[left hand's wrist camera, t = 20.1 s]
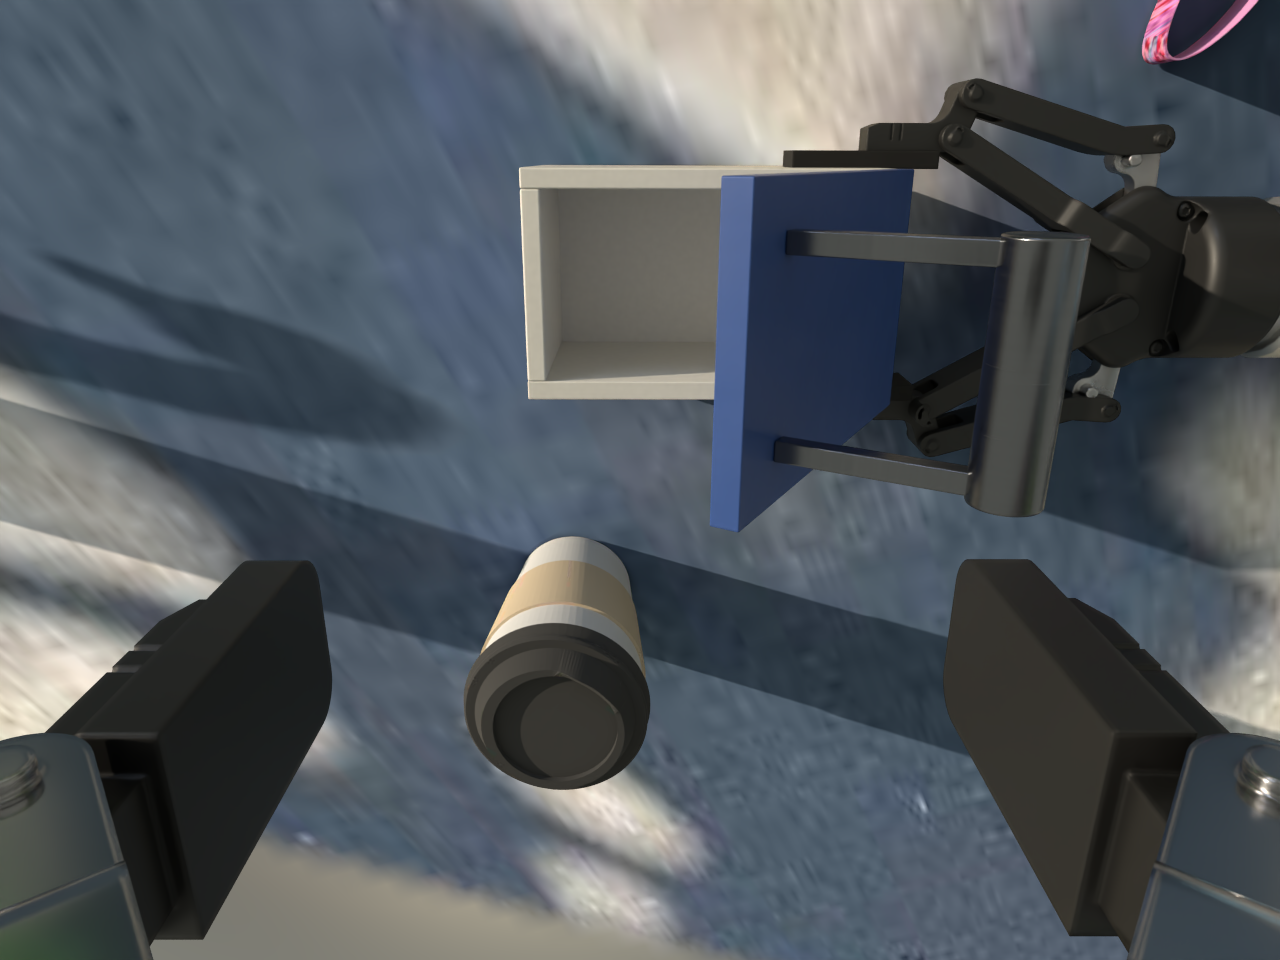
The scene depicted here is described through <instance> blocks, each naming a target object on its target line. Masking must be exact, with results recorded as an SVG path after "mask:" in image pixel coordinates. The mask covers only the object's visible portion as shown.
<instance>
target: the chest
mask: <svg viewBox="0 0 1280 960" xmlns="http://www.w3.org/2000/svg"><path fill="white" fill-rule="evenodd" d="M877 169H891V168H790V167H783V166H649V165H541V166H531V167H521V168H519V179H520V188H521V190H520V202H521V226H522V250H523V274H524V298H525V322H526V346H527V370H528V380H529V381H528V396H529V399H626V400H714V387H715V357H716V326H717V296H718V266H719V236H720V206H721V178H722V176H724V175H749V174H775V173H800V172H826V171H852V170H877Z"/></svg>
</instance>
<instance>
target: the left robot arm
mask: <svg viewBox="0 0 1280 960" xmlns="http://www.w3.org/2000/svg"><path fill="white" fill-rule="evenodd" d="M943 686H944V696H945V702H946V707H947V710H948V714H949V717H950V719H951V721H952V723H953V725H954V727H955V729H956V731H957V732H958V734H959V736H960V738H961V740H962V741H963V743H964V745H965V747H966V749H967V751H968V752H969V754H970V756H971V758H972V760H973V761H974V763H975V765H976V767H977V769H978V771H979V772H980V774H981V776H982V778H983V780H984V781H985V783H986V785H987V787H988V789H989V791H990V792H991V794H992V796H993V798H994V800H995V801H996V803H997V805H998V807H999V809H1000V810H1001V812H1002V814H1003V816H1004V818H1005V820H1006V821H1007V823H1008V825H1009V827H1010V829H1011V830H1012V832H1013V834H1014V836H1015V838H1016V840H1017V841H1018V843H1019V845H1020V847H1021V849H1022V850H1023V852H1024V854H1025V856H1026V858H1027V860H1028V861H1029V863H1030V865H1031V867H1032V869H1033V870H1034V872H1035V874H1036V876H1037V878H1038V880H1039V881H1040V883H1041V885H1042V887H1043V889H1044V890H1045V892H1046V894H1047V896H1048V898H1049V900H1050V901H1051V903H1052V905H1053V907H1054V909H1055V910H1056V912H1057V914H1058V916H1059V918H1060V920H1061V921H1062V923H1063V925H1064V927H1065V929H1066V930H1067V932H1068V934H1069V936H1118V937H1119V938H1120V940H1121V941H1122V943H1123V945H1124V946H1125V948H1126V950H1127V951H1128V957H1127V960H1280V741H1278V740H1274V739H1271V738H1266V737H1261V736H1256V735H1250V734H1242V733H1230V732H1229V731H1228V730H1227V729H1226V728H1224V727H1223V726H1222V725H1221V724H1220V723H1219V722H1218V721H1217V720H1216V719H1215V718H1214V717H1213V716H1212V715H1211V714H1210V713H1209V712H1208V711H1207V710H1206V709H1205V708H1204V707H1203V706H1202V705H1201V704H1200V703H1199V702H1198V701H1197V700H1196V699H1195V698H1194V697H1193V696H1192V695H1191V694H1190V693H1189V692H1188V691H1187V690H1186V689H1185V688H1184V687H1183V686H1182V685H1181V684H1180V683H1179V682H1178V681H1176V680H1175V679H1174V678H1173V677H1172V676H1171V675H1170V674H1169V673H1168V672H1167V671H1166V670H1161V665H1160V664H1159V663H1158V662H1157V661H1156V660H1155V659H1154V658H1153V657H1152V656H1151V655H1150V654H1149V653H1148V652H1147V651H1146V650H1145V649H1140V648H1139V643H1138V642H1137V641H1136V640H1135V639H1134V638H1133V637H1132V636H1131V635H1130V634H1128V633H1127V632H1126V631H1125V630H1124V629H1123V628H1122V627H1121V626H1120V625H1119V624H1118V623H1117V622H1116V621H1115V620H1114V619H1113V618H1111V617H1109V616H1107V615H1105V614H1103V613H1102V612H1100V611H1098V610H1096V609H1094V608H1092V607H1091V606H1089V605H1087V604H1085V603H1083V602H1081V601H1080V600H1078V599H1076V598H1067V597H1066V596H1065V595H1064V594H1063V593H1062V592H1061V591H1060V590H1059V589H1058V588H1057V587H1056V586H1055V585H1054V583H1053V582H1052V581H1051V580H1050V579H1049V578H1048V577H1047V576H1046V575H1045V574H1044V573H1043V572H1042V571H1041V570H1040V569H1039V568H1038V567H1037V566H1036V565H1035V564H1034V563H1033V562H1032V561H1030V560H1028V559H967V560H965V561H964V562H963V563H962V564H961V566H960V568H959V571H958V574H957V578H956V584H955V591H954V599H953V606H952V613H951V620H950V628H949V635H948V642H947V649H946V657H945V664H944V673H943ZM331 692H332V671H331V663H330V656H329V649H328V642H327V635H326V627H325V620H324V613H323V606H322V599H321V592H320V585H319V579H318V575H317V572H316V569H315V567H314V566H313V564H312V563H311V562H309V561H245V562H243V563H242V564H241V565H240V566H239V567H238V568H237V569H236V570H235V571H234V572H233V573H232V574H231V575H230V576H229V577H228V578H227V579H226V580H225V581H224V582H223V583H222V584H221V585H220V586H219V587H218V588H217V589H216V590H215V591H214V592H213V593H212V594H211V595H210V596H209V597H208V599H207V600H198V601H196V602H194V603H192V604H190V605H188V606H187V607H185V608H183V609H181V610H179V611H177V612H175V613H174V614H172V615H170V616H168V617H166V618H164V619H163V620H161V621H159V622H158V623H157V624H156V625H155V626H154V627H153V628H152V629H151V630H150V631H149V632H148V633H147V634H146V635H145V636H144V637H143V638H142V639H141V640H140V641H139V642H138V643H137V644H136V645H135V646H134V651H129V652H127V653H126V654H125V655H124V656H123V657H122V658H121V659H120V660H119V661H118V662H117V663H116V664H115V665H114V666H113V671H112V672H107V673H106V674H105V675H104V676H103V677H102V678H101V679H100V680H99V681H98V682H97V683H96V684H95V685H93V686H92V687H91V688H90V689H89V690H88V691H87V692H86V693H85V694H84V695H83V696H82V697H81V698H80V699H79V700H78V701H77V702H76V703H75V704H74V705H73V706H72V707H71V708H70V709H69V710H68V711H67V712H66V713H65V714H64V715H63V716H62V717H61V718H59V719H58V720H57V721H56V722H55V723H54V724H53V725H52V726H51V727H50V728H49V729H48V730H47V731H46V732H45V733H38V734H30V735H24V736H19V737H14V738H9V739H6V740H2V741H0V960H153V957H152V953H151V950H150V945H151V944H152V942H153V940H155V939H156V940H159V939H161V940H162V939H163V940H170V939H171V940H175V939H176V940H184V939H185V940H196V939H197V940H203V939H204V937H205V935H206V934H207V932H208V930H209V928H210V926H211V925H212V923H213V921H214V919H215V917H216V916H217V914H218V912H219V910H220V908H221V907H222V905H223V903H224V901H225V899H226V898H227V896H228V894H229V892H230V891H231V889H232V887H233V885H234V883H235V881H236V880H237V878H238V876H239V874H240V873H241V871H242V869H243V867H244V865H245V864H246V862H247V860H248V858H249V856H250V855H251V853H252V851H253V849H254V847H255V846H256V844H257V842H258V840H259V838H260V837H261V835H262V833H263V831H264V829H265V828H266V826H267V824H268V822H269V820H270V819H271V817H272V815H273V813H274V812H275V810H276V808H277V806H278V804H279V803H280V801H281V799H282V797H283V795H284V794H285V792H286V790H287V788H288V786H289V785H290V783H291V781H292V779H293V777H294V776H295V774H296V772H297V770H298V768H299V767H300V765H301V763H302V761H303V759H304V758H305V756H306V754H307V752H308V750H309V749H310V747H311V745H312V743H313V741H314V740H315V738H316V736H317V734H318V733H319V731H320V729H321V727H322V725H323V723H324V721H325V719H326V716H327V713H328V710H329V705H330V700H331Z"/></svg>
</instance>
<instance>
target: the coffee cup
mask: <svg viewBox="0 0 1280 960" xmlns="http://www.w3.org/2000/svg"><path fill="white" fill-rule="evenodd" d="M464 714H465V720H466V724H467V728H468V730H469V733H470V735H471V737H472V739H473V741H474V743H475V744H476V746H477V747H478V749H479V750H480V751H481V753H482V754H483V755H484V756H485V757H486V758H487V759H488V760H489V761H490V762H491V763H492V764H493V765H494V766H496V767H497V768H498V769H500V770H501V771H502V772H504V773H506V774H507V775H509V776H511V777H513V778H515V779H517V780H519V781H522V782H524V783H527V784H530V785H533V786H537V787H541V788H547V789H557V790H569V789H579V788H584V787H589V786H592V785H595V784H598V783H601V782H603V781H605V780H608V779H609V778H611V777H613V776H615V775H616V774H618V773H619V772H620V771H622V770H623V769H624V768H625V767H626V766H627V765H628V764H629V763H630V762H631V761H632V760H633V759H634V757H635V756H636V755H637V753H638V752H639V750H640V748H641V746H642V744H643V741H644V738H645V735H646V730H647V723H648V720H649V714H650V695H649V690H648V686H647V683H646V680H645V666H644V659H643V653H642V646H641V640H640V633H639V627H638V621H637V614H636V609H635V606H634V603H633V601H632V595H631V588H630V581H629V576H628V573H627V570H626V568H625V566H624V565H623V563H622V561H621V560H620V559H619V558H618V556H617V555H616V554H615V553H614V552H612V551H611V550H610V549H609V548H607V547H606V546H604V545H602V544H601V543H599V542H596V541H594V540H591V539H587V538H582V537H562V538H557V539H554V540H551V541H549V542H547V543H545V544H543V545H541V546H540V547H538V548H537V549H536V550H535V551H534V552H533V553H532V554H531V555H530V556H529V557H528V559H527V560H526V562H525V564H524V566H523V568H522V570H521V572H520V575H519V577H518V579H517V581H516V582H515V583H514V585H513V586H512V588H511V589H510V591H509V593H508V595H507V597H506V599H505V601H504V603H503V605H502V607H501V610H500V612H499V614H498V616H497V618H496V620H495V622H494V625H493V627H492V629H491V631H490V633H489V635H488V637H487V640H486V642H485V644H484V646H483V648H482V651H481V654H480V656H479V657H478V659H477V660H476V661H475V663H474V665H473V666H472V668H471V670H470V672H469V675H468V678H467V681H466V685H465V690H464Z"/></svg>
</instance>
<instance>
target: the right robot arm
mask: <svg viewBox="0 0 1280 960" xmlns="http://www.w3.org/2000/svg"><path fill="white" fill-rule="evenodd" d="M944 100H945V102H944V104H943V106H942V108H941V111H940V113H939V114H938V116H937V117H936V118H935V119H934V120H933V121H931V122H930V123H876V124H871V125H868V126H866V127H863V128H861V129H860V141H859V151H804V150H792V151H784V156H783V167H790V168H891V169H938V163H939V156H940V157H941V158H943V159H944V160H946V161H947V162H949V163H950V164H952V165H953V166H955V167H956V168H958V169H959V170H961V171H962V172H964V173H965V174H967V175H968V176H970V177H971V178H973V179H974V180H976V181H977V182H979V183H980V184H982V185H983V186H985V187H987V188H988V189H990V190H991V191H993V192H994V193H996V194H997V195H999V196H1000V197H1002V198H1003V199H1005V200H1006V201H1008V202H1009V203H1011V204H1012V205H1014V206H1015V207H1017V208H1018V209H1020V210H1021V211H1023V212H1024V213H1026V214H1027V215H1029V216H1030V217H1032V218H1033V219H1034V221H1035V222H1037V223H1038V224H1039V225H1041V226H1042V227H1044V228H1045V229H1047V230H1048V231H1050V232H1066V233H1077V234H1084V235H1087V236H1090V238H1091V243H1090V249H1089V254H1088V260H1087V266H1086V272H1085V277H1084V283H1083V289H1082V294H1081V300H1080V306H1079V312H1078V317H1077V323H1076V329H1075V335H1074V340H1073V346H1072V351H1074V350H1076V349H1079V350H1080V351H1081V352H1082V353H1083V354H1085V355H1086V356H1087V357H1088V358H1090V359H1091V360H1092V364H1091V366H1090V367H1089V369H1087V370H1086V371H1085V372H1083V373H1079V374H1074V375H1072V376H1070V377H1068V378H1067V380H1066V386H1065V392H1064V398H1063V403H1062V409H1061V415H1060V421H1059V424H1060V423H1063V422H1067V421H1071V420H1078V421H1093V422H1111V421H1113V420H1115V419H1116V418H1117V417H1118V416H1119V414H1120V412H1121V406H1120V403H1119V402H1118V401H1117V400H1115V399H1113V394H1114V390H1115V386H1116V383H1117V379H1118V375H1119V371H1120V367H1124V366H1126V365H1128V364H1130V363H1132V362H1134V361H1137V360H1140V359H1143V358H1229V357H1235V356H1238V355H1240V356H1243V357H1245V358H1280V197H1271V198H1265V199H1260V198H1256V197H1175V196H1171V195H1169V194H1167V193H1165V192H1164V191H1162V190H1161V189H1159V188H1157V187H1156V184H1157V176H1158V169H1159V161H1160V154H1161V153H1163V152H1166V151H1167V150H1169V149H1170V148H1171V146H1172V145H1173V144H1174V141H1175V131H1174V129H1173V128H1172V127H1171V126H1169V125H1165V124H1160V125H1143V126H1127V127H1124V126H1121V125H1118V124H1115V123H1112V122H1109V121H1106V120H1103V119H1100V118H1097V117H1094V116H1091V115H1088V114H1085V113H1082V112H1079V111H1076V110H1073V109H1070V108H1067V107H1064V106H1061V105H1058V104H1055V103H1052V102H1049V101H1046V100H1043V99H1040V98H1037V97H1034V96H1031V95H1028V94H1025V93H1022V92H1019V91H1016V90H1013V89H1010V88H1007V87H1004V86H1001V85H998V84H995V83H992V82H989V81H986V80H983V79H977V78H976V79H972V80H967V81H963V82H958V83H955V84H952V85H951V86H950V87H949V88H948V89H947V91H946V92H945V97H944ZM975 118H977V119H980V120H983V121H986V122H989V123H992V124H995V125H998V126H1001V127H1004V128H1007V129H1010V130H1013V131H1016V132H1019V133H1022V134H1025V135H1028V136H1031V137H1034V138H1037V139H1040V140H1044V141H1047V142H1050V143H1053V144H1056V145H1059V146H1062V147H1065V148H1068V149H1071V150H1074V151H1077V152H1081V153H1085V154H1091V155H1105V157H1104V164H1105V167H1106V169H1107V170H1108V171H1110V172H1111V173H1116V174H1119V175H1120V176H1121V177H1122V178H1123V179H1124V182H1125V188H1123V189H1121V190H1119V191H1118V192H1116V193H1115V194H1113V195H1112V196H1110V197H1109V198H1107V199H1106V200H1104V201H1103V202H1101V203H1100V204H1098V205H1097V206H1095V207H1094V208H1091V207H1089V206H1088V205H1086V204H1084V203H1082V202H1080V201H1078V200H1076V199H1073V198H1072V197H1070V196H1068V195H1067V194H1066V193H1064V192H1063V191H1061V190H1060V189H1058V188H1057V187H1055V186H1054V185H1052V184H1051V183H1049V182H1048V181H1046V180H1045V179H1043V178H1042V177H1040V176H1039V175H1037V174H1036V173H1034V172H1033V171H1031V170H1030V169H1028V168H1027V167H1025V166H1024V165H1022V164H1021V163H1019V162H1018V161H1016V160H1015V159H1013V158H1012V157H1010V156H1009V155H1007V154H1006V153H1005V152H1003V151H1002V150H1000V149H999V148H997V147H996V146H994V145H993V144H991V143H990V142H988V141H987V140H985V139H984V138H982V137H981V136H979V135H978V134H976V133H975V132H973V131H972V130H970V129H971V126H972V124H973V122H974V120H975ZM984 349H985V347H983V348H981V349H979V350H977V351H975V352H973V353H971V354H969V355H967V356H966V357H964V358H962V359H960V360H958V361H956V362H954V363H952V364H950V365H948V366H947V367H945V368H943V369H941V370H939V371H937V372H935V373H933V374H931V375H929V376H928V377H926V378H924V379H922V380H920V381H918V382H916V383H914V384H911V383H910V382H908V381H907V380H906V379H905V378H904V377H902V376H901V375H900V374H899V373H893V377H892V387H891V397H890V404H889V406H887V407H886V408H885V409H884V410H883V411H881V412H880V413H879V414H878V415H877V416H876V417H874V418H873V420H904V421H905V423H906V426H907V436H908V438H909V439H910V440H911V442H912V443H913V444H914V445H915V446H916V447H917V448H918V449H919V450H920V451H921V452H922V453H923V454H924V455H925V456H928V457H935V456H938V455H942V454H946V453H950V452H953V451H957V450H961V449H965V448H969V447H971V442H972V435H973V428H974V421H975V413H976V406H977V405H973V406H970V407H966V408H962V409H958V410H955V411H951V412H947V411H949V410H951V409H953V408H955V407H957V406H959V405H961V404H963V403H964V402H966V401H968V400H970V399H972V398H974V397H976V396H978V392H979V385H980V378H981V370H982V363H983V356H984ZM945 412H947V413H945ZM943 413H944V414H943Z"/></svg>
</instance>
